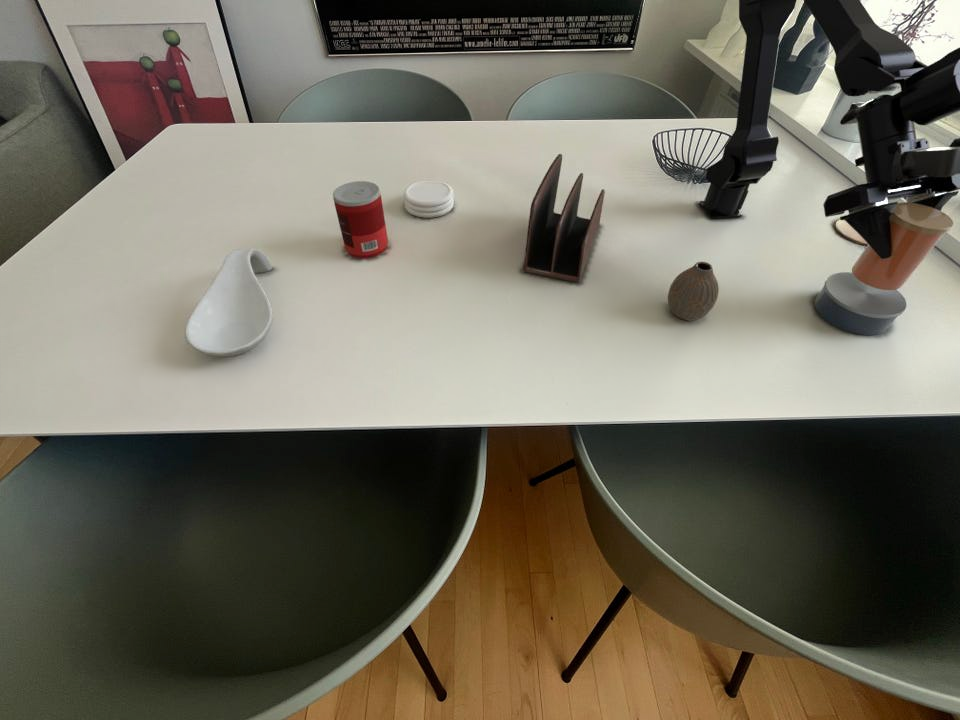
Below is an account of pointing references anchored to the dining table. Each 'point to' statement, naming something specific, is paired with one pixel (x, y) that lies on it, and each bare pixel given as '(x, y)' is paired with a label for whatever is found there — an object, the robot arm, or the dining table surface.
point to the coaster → (428, 199)
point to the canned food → (361, 219)
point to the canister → (903, 246)
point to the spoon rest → (232, 308)
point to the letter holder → (559, 230)
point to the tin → (858, 305)
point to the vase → (693, 292)
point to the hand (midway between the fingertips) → (905, 254)
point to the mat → (849, 232)
